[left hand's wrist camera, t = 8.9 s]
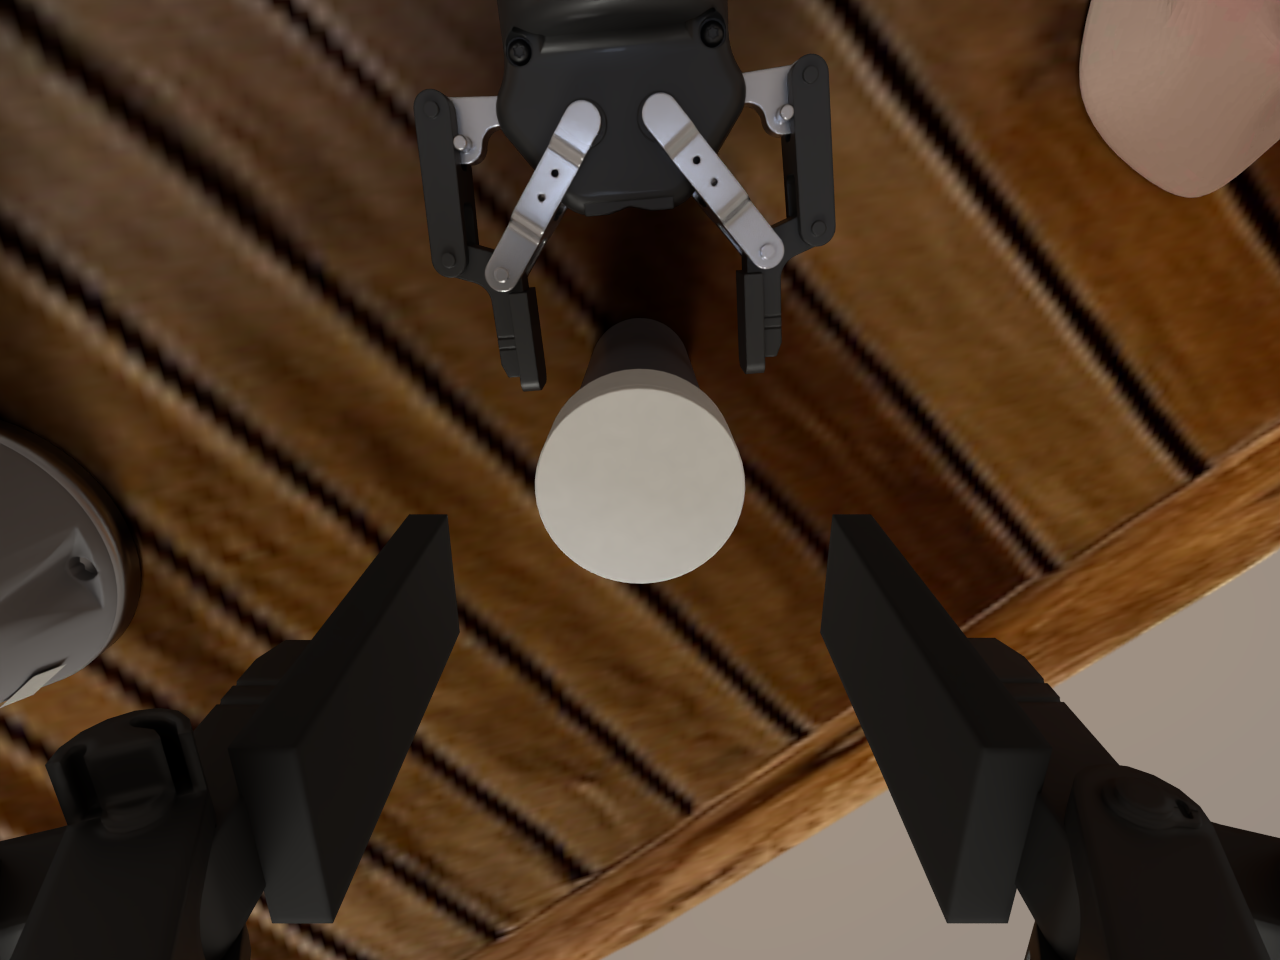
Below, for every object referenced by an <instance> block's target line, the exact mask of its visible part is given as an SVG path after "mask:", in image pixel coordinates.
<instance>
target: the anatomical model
mask: <svg viewBox="0 0 1280 960" xmlns="http://www.w3.org/2000/svg"><path fill="white" fill-rule="evenodd" d="M1079 79H1080V89H1081V95H1082V99H1083V102H1084V105H1085V108H1086V111H1087V113H1088V115H1089V117H1090V119H1091V121H1092V123H1093V125H1094V126H1095V128H1096V129H1097V130H1098V132H1099V133H1100V135H1101V136H1102V138H1103V139H1104V141H1105V142H1106V143H1107V144H1108V145H1109V146H1110V147H1111V148H1112V150H1113V151H1114V152H1115V153H1116V154H1117V155H1118V156H1119V157H1120V158H1121V159H1123V160H1124V161H1125V162H1126V163H1127V164H1128V165H1129V166H1130V167H1132V168H1133V169H1134V170H1135V171H1137V172H1138V173H1139V174H1141V175H1142V176H1143V177H1145V178H1146V179H1147V180H1149V181H1150V182H1152V183H1153V184H1155V185H1157V186H1158V187H1160V188H1162V189H1164V190H1165V191H1168V192H1170V193H1172V194H1175V195H1178V196H1183V197H1200V196H1203V195H1206V194H1209V193H1211V192H1214V191H1216V190H1217V189H1219V188H1221V187H1222V186H1224V185H1225V184H1227V183H1228V182H1229V181H1231V180H1232V179H1234V178H1235V177H1236V176H1238V175H1239V174H1240V173H1241V172H1242V171H1244V170H1245V169H1246V168H1247V167H1248V166H1250V165H1251V164H1252V163H1253V162H1254V161H1255V160H1257V159H1258V158H1259V157H1260V156H1261V155H1262V154H1263V153H1264V152H1266V151H1267V150H1268V149H1269V148H1270V147H1271V146H1272V145H1273V144H1275V143H1276V142H1277V141H1278V140H1279V139H1280V0H1091V3H1090V7H1089V11H1088V15H1087V20H1086V25H1085V30H1084V35H1083V40H1082V46H1081V54H1080V66H1079Z"/></svg>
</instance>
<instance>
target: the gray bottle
mask: <svg viewBox="0 0 1280 960" xmlns="http://www.w3.org/2000/svg"><path fill="white" fill-rule="evenodd" d="M630 369H651V370H657V371H663V372H666V373H669V374H673V375H676V376H678V377H680V378H682V379H684V380H687V381H688V382H690V383H691V384H693V385H695V386H696V387H698V388H699V386H698V383H697V380H696V377H695V374H694V371H693V368H692V366H691V363H690V360H689V357H688V354H687V351H686V348H685V346H684V344H683V342H682V341H681V339H680V338H679V336H678V335H677V334H676V333H675V332H674V331H673V330H672V329H670V328H669V327H668V326H666V325H665V324H663V323H661V322H658V321H656V320H652V319H647V318H632V319H628V320H624V321H622V322H619V323H617V324H615V325H614V326H612V327H611V328H610V329H608V330H607V331H606V332H605V333H604V334H603V335H602V337H601V338H600V339H599V341H598V342H597V344H596V346H595V349H594V351H593V354H592V357H591V360H590V362H589V365H588V368H587V371H586V374H585V377H584V380H583V382H582V385H581V388H583V387H584V386H586V385H587V384H588V383H590V382H592V381H594V380H596V379H598V378H600V377H602V376H605V375H607V374H610V373H613V372H618V371H622V370H630ZM581 388H580V389H581ZM699 389H700V388H699Z"/></svg>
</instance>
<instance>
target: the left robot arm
mask: <svg viewBox="0 0 1280 960" xmlns="http://www.w3.org/2000/svg"><path fill="white" fill-rule="evenodd" d="M140 587H141V571H140V564H139V558H138V554H137V550H136V546H135V543H134V540H133V537H132V535H131V532H130V530H129V528H128V526H127V524H126V522H125V520H124V518H123V516H122V515H121V513H120V511H119V509H118V508H117V506H116V505H115V504H114V502H113V501H112V499H111V498H110V496H109V495H108V494H107V493H106V491H105V490H104V489H103V488H102V487H101V485H100V484H99V483H98V482H97V481H96V480H95V479H94V478H93V477H92V476H91V475H90V474H89V473H88V472H87V471H86V470H85V469H84V468H83V467H82V466H81V465H79V464H78V463H77V462H76V461H75V460H74V459H72V458H71V457H70V456H68V455H67V454H66V453H64V452H63V451H62V450H60V449H59V448H57V447H56V446H54V445H53V444H51V443H50V442H48V441H46V440H44V439H43V438H41V437H39V436H37V435H36V434H34V433H31V432H29V431H27V430H25V429H23V428H21V427H19V426H16V425H13V424H11V423H8V422H5V421H3V420H0V703H1V702H4V701H7V700H8V701H7V702H6V703H5V704H4V705H2V706H1V707H3V706H6V705H8V704H11V703H13V702H16V701H18V700H21V699H23V698H26V697H28V696H31V695H33V694H34V693H36V692H37V691H38V690H39V689H40V688H41V687H43V686H46V685H49V684H51V683H54V682H56V681H59V680H62V679H64V678H66V677H68V676H71V675H73V674H75V673H76V672H78V671H79V670H81V669H82V668H84V667H85V666H86V665H88V664H89V663H90V662H91V661H93V660H94V659H95V658H96V657H98V656H99V655H100V654H101V653H103V652H104V651H105V650H106V649H107V648H109V647H110V646H111V645H112V644H114V643H115V642H116V641H117V640H118V639H119V637H120V636H121V635H122V634H123V633H124V631H125V630H126V629H127V627H128V626H129V624H130V622H131V620H132V618H133V616H134V613H135V611H136V608H137V605H138V601H139V596H140ZM459 633H460V631H459V622H458V612H457V603H456V593H455V584H454V574H453V565H452V555H451V546H450V536H449V526H448V517H447V515H408V517H407V518H406V519H405V521H404V522H403V523H402V524H401V526H400V527H399V528H398V530H397V531H396V532H395V533H394V535H393V536H392V537H391V539H390V540H389V541H388V542H387V544H386V545H385V546H384V548H383V549H382V550H381V551H380V553H379V554H378V555H377V556H376V558H375V559H374V560H373V562H372V563H371V564H370V565H369V567H368V568H367V569H366V571H365V572H364V573H363V574H362V576H361V577H360V578H359V580H358V581H357V582H356V583H355V585H354V586H353V587H352V589H351V590H350V591H349V592H348V594H347V595H346V596H345V598H344V599H343V600H342V601H341V603H340V604H339V605H338V607H337V608H336V609H335V610H334V612H333V613H332V614H331V616H330V617H329V618H328V619H327V621H326V622H325V623H324V625H323V626H322V627H321V628H320V630H319V631H318V632H317V633H316V635H315V636H314V637H313V639H312V640H285V641H284V642H282V643H280V644H279V645H277V646H276V647H274V648H273V649H271V650H270V651H268V652H266V653H265V654H263V655H262V656H260V657H259V658H257V659H256V660H255V661H254V662H253V663H252V665H251V666H250V667H249V668H248V669H247V670H246V671H245V673H244V674H243V675H242V676H241V677H240V678H239V679H238V681H237V685H236V686H232V687H231V689H230V690H229V691H228V692H227V693H226V694H225V696H224V697H223V698H222V699H221V703H220V705H216V706H215V707H214V708H213V709H212V710H211V712H210V713H209V714H208V715H207V716H206V717H205V719H204V720H203V721H202V722H201V723H200V724H199V725H198V727H197V728H196V729H195V730H194V731H193V730H192V727H191V723H190V719H189V718H187V717H186V716H185V715H183V714H182V713H181V712H179V711H176V710H169V709H163V708H155V709H147V710H138V711H133V712H129V713H126V714H123V715H120V716H116V717H113V718H110V719H107V720H105V721H103V722H101V723H99V724H97V725H95V726H92V727H90V728H88V729H86V730H84V731H82V732H80V733H79V734H78V735H76V736H75V737H74V738H72V739H71V740H69V741H68V742H67V743H65V744H64V745H63V746H61V747H60V748H59V749H58V750H57V751H56V752H55V754H54V755H53V756H52V757H51V759H50V760H49V761H48V762H47V764H46V765H45V766H46V769H47V771H48V774H49V777H50V779H51V782H52V785H53V787H54V790H55V793H56V795H57V798H58V801H59V803H60V806H61V809H62V811H63V814H64V817H65V819H66V822H67V826H64V827H60V828H56V829H51V830H47V831H43V832H38V833H34V834H30V835H25V836H21V837H17V838H13V839H8V840H4V841H0V960H250V955H251V946H250V940H249V934H248V930H247V926H246V921H247V919H248V917H249V916H250V914H251V912H252V910H253V909H254V907H255V905H256V903H257V901H258V900H259V898H260V896H261V894H262V892H263V891H264V893H265V897H266V901H267V905H268V909H269V913H270V916H271V920H272V923H333V922H334V919H335V917H336V915H337V913H338V910H339V908H340V906H341V903H342V901H343V899H344V897H345V894H346V892H347V890H348V887H349V885H350V883H351V880H352V878H353V876H354V874H355V871H356V869H357V867H358V864H359V862H360V860H361V858H362V855H363V853H364V851H365V848H366V846H367V844H368V841H369V839H370V837H371V835H372V832H373V830H374V828H375V825H376V823H377V821H378V818H379V816H380V814H381V812H382V809H383V807H384V805H385V802H386V800H387V798H388V796H389V793H390V791H391V789H392V786H393V784H394V782H395V779H396V777H397V775H398V773H399V770H400V768H401V766H402V763H403V761H404V759H405V757H406V754H407V752H408V750H409V747H410V745H411V743H412V740H413V738H414V736H415V734H416V731H417V729H418V727H419V724H420V722H421V720H422V718H423V715H424V713H425V711H426V708H427V706H428V704H429V701H430V699H431V697H432V695H433V692H434V690H435V688H436V685H437V683H438V681H439V678H440V676H441V674H442V672H443V669H444V667H445V665H446V662H447V660H448V658H449V656H450V653H451V651H452V649H453V646H454V644H455V642H456V639H457V637H458V635H459ZM820 633H821V635H822V637H823V639H824V642H825V644H826V646H827V649H828V651H829V653H830V656H831V658H832V660H833V662H834V665H835V667H836V669H837V672H838V674H839V676H840V678H841V681H842V683H843V685H844V688H845V690H846V692H847V695H848V697H849V699H850V701H851V704H852V706H853V708H854V711H855V713H856V715H857V718H858V720H859V722H860V724H861V727H862V729H863V731H864V734H865V736H866V738H867V740H868V743H869V745H870V747H871V750H872V752H873V754H874V757H875V759H876V761H877V763H878V766H879V768H880V770H881V773H882V775H883V777H884V779H885V782H886V784H887V786H888V789H889V791H890V793H891V796H892V798H893V800H894V802H895V805H896V807H897V809H898V812H899V814H900V816H901V818H902V821H903V823H904V825H905V828H906V830H907V832H908V834H909V837H910V839H911V841H912V844H913V846H914V848H915V851H916V853H917V855H918V857H919V860H920V862H921V864H922V867H923V869H924V871H925V874H926V876H927V878H928V880H929V883H930V885H931V887H932V890H933V892H934V894H935V897H936V899H937V901H938V903H939V906H940V908H941V910H942V913H943V915H944V917H945V919H946V922H947V923H1008V920H1009V916H1010V912H1011V909H1012V905H1013V901H1014V897H1015V893H1016V889H1018V891H1019V892H1020V894H1021V896H1022V898H1023V900H1024V901H1025V903H1026V905H1027V907H1028V908H1029V910H1030V912H1031V914H1032V915H1033V917H1034V919H1035V923H1034V926H1033V930H1032V934H1031V937H1030V941H1029V945H1028V948H1027V952H1026V956H1025V959H1024V960H1280V838H1277V837H1272V836H1268V835H1264V834H1259V833H1255V832H1251V831H1246V830H1242V829H1238V828H1233V827H1229V826H1225V825H1220V824H1217V823H1213V822H1210V820H1209V819H1208V817H1207V816H1206V814H1205V813H1204V812H1203V810H1202V809H1201V807H1200V806H1199V805H1198V804H1196V803H1195V802H1194V801H1193V800H1192V799H1190V798H1189V797H1188V796H1187V795H1186V794H1184V793H1183V792H1182V791H1181V790H1180V789H1178V788H1176V787H1174V786H1173V785H1171V784H1169V783H1167V782H1165V781H1163V780H1161V779H1160V778H1158V777H1156V776H1154V775H1152V774H1149V773H1146V772H1143V771H1140V770H1137V769H1134V768H1131V767H1128V766H1120V765H1119V764H1118V763H1117V762H1116V761H1115V760H1114V759H1113V758H1112V756H1111V755H1110V754H1109V753H1108V752H1107V751H1106V750H1105V748H1104V747H1103V746H1102V745H1101V744H1100V743H1099V741H1098V740H1097V739H1096V738H1095V737H1094V736H1093V735H1092V734H1091V732H1090V731H1089V730H1088V729H1087V728H1086V727H1085V726H1084V724H1083V723H1082V722H1081V721H1080V720H1079V719H1078V718H1077V716H1076V715H1075V714H1074V713H1073V712H1072V711H1071V710H1070V709H1069V707H1068V706H1067V705H1066V704H1065V703H1064V702H1060V697H1059V696H1058V695H1057V694H1056V692H1055V691H1054V690H1053V689H1052V688H1051V687H1050V686H1049V684H1048V683H1044V679H1043V678H1042V676H1041V675H1040V674H1039V673H1038V672H1037V671H1036V670H1035V668H1034V667H1033V666H1032V665H1031V664H1030V663H1029V662H1028V660H1027V659H1026V658H1025V657H1024V656H1022V655H1021V654H1019V653H1018V652H1016V651H1014V650H1013V649H1011V648H1010V647H1008V646H1007V645H1005V644H1004V643H1002V642H1000V641H999V640H997V639H996V638H967V637H966V636H965V635H964V633H963V632H962V631H961V630H960V628H959V627H958V626H957V625H956V623H955V622H954V621H953V619H952V618H951V617H950V616H949V614H948V613H947V612H946V610H945V609H944V608H943V607H942V605H941V604H940V603H939V601H938V600H937V599H936V598H935V596H934V595H933V594H932V592H931V591H930V590H929V589H928V587H927V586H926V585H925V583H924V582H923V581H922V580H921V578H920V577H919V576H918V574H917V573H916V572H915V571H914V569H913V568H912V567H911V565H910V564H909V563H908V562H907V560H906V559H905V558H904V556H903V555H902V554H901V553H900V551H899V550H898V549H897V548H896V546H895V545H894V544H893V542H892V541H891V540H890V539H889V537H888V536H887V535H886V533H885V532H884V531H883V530H882V528H881V527H880V526H879V524H878V523H877V522H876V521H875V519H874V518H873V517H872V515H833V517H832V526H831V536H830V545H829V555H828V565H827V574H826V584H825V593H824V603H823V612H822V622H821V631H820ZM1 707H0V708H1Z"/></svg>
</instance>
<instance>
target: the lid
mask: <svg viewBox="0 0 1280 960" xmlns="http://www.w3.org/2000/svg"><path fill="white" fill-rule="evenodd" d="M744 493H745V475H744V470H743V464H742V461H741V457H740V454H739V451H738V449H737V447H736V444H735V442H734V439H733V437H732V435H731V432H730V430H729V428H728V425H727V423H726V421H725V419H724V417H723V415H722V414H721V412H720V411H719V409H718V408H717V406H716V405H715V404H714V403H713V401H712V400H711V399H710V398H709V397H708V396H707V395H706V394H705V393H704V392H702V391H701V390H700V389H699V388H698V387H696V386H695V385H693V384H691V383H690V382H688V381H687V380H684V379H682V378H680V377H678V376H676V375H673V374H669V373H666V372H663V371H657V370H651V369H630V370H622V371H618V372H613V373H610V374H607V375H605V376H602V377H600V378H598V379H596V380H594V381H592V382H590V383H588V384H587V385H586V386H584V387H583V388H581V389H580V390H579V391H577V392H576V393H575V394H574V395H573V396H572V397H571V398H570V399H569V400H568V401H567V403H566V404H565V405H564V406H563V407H562V409H561V411H560V412H559V414H558V415H557V417H556V419H555V421H554V423H553V426H552V428H551V430H550V433H549V435H548V437H547V440H546V442H545V444H544V447H543V449H542V452H541V454H540V457H539V461H538V464H537V469H536V477H535V494H536V501H537V506H538V510H539V513H540V517H541V519H542V521H543V524H544V526H545V528H546V530H547V531H548V533H549V535H550V536H551V538H552V539H553V541H554V542H555V543H556V544H557V546H558V547H559V548H560V549H561V550H562V551H563V552H564V553H565V554H566V555H567V556H568V557H569V558H570V559H571V560H573V561H574V562H576V563H577V564H578V565H580V566H581V567H583V568H585V569H587V570H588V571H590V572H592V573H594V574H597V575H599V576H602V577H604V578H608V579H611V580H615V581H620V582H627V583H654V582H660V581H665V580H669V579H672V578H675V577H678V576H681V575H683V574H686V573H688V572H690V571H692V570H694V569H695V568H697V567H699V566H700V565H702V564H703V563H705V562H706V561H707V560H708V559H710V558H711V557H712V556H713V555H714V554H715V553H716V552H717V551H718V550H719V549H720V548H721V547H722V546H723V545H724V543H725V542H726V541H727V539H728V538H729V537H730V535H731V533H732V531H733V530H734V528H735V526H736V524H737V521H738V519H739V516H740V514H741V510H742V506H743V502H744Z"/></svg>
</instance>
